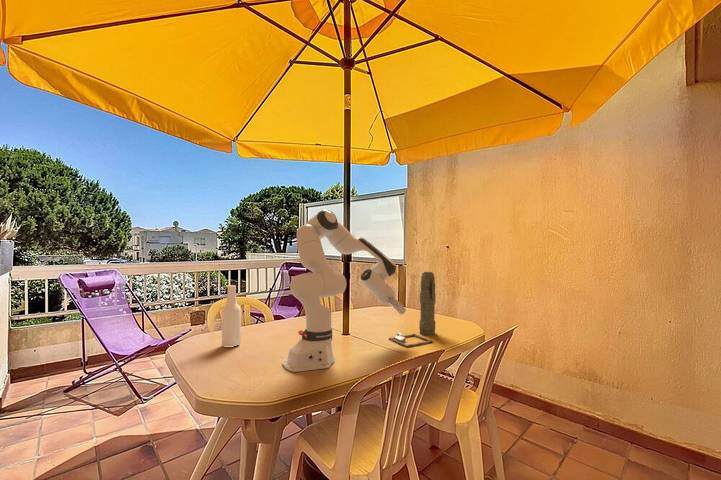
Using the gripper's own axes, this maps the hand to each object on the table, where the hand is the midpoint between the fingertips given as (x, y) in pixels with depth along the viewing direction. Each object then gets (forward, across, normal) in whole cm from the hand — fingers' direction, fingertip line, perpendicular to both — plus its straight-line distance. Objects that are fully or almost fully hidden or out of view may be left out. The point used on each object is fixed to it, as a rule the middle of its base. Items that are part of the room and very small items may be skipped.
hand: (402, 312), depth 179 cm
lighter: (+12, -1, +9) cm, 15 cm away
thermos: (+27, +10, -2) cm, 29 cm away
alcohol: (-48, +14, +72) cm, 88 cm away
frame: (+15, -1, +8) cm, 17 cm away
